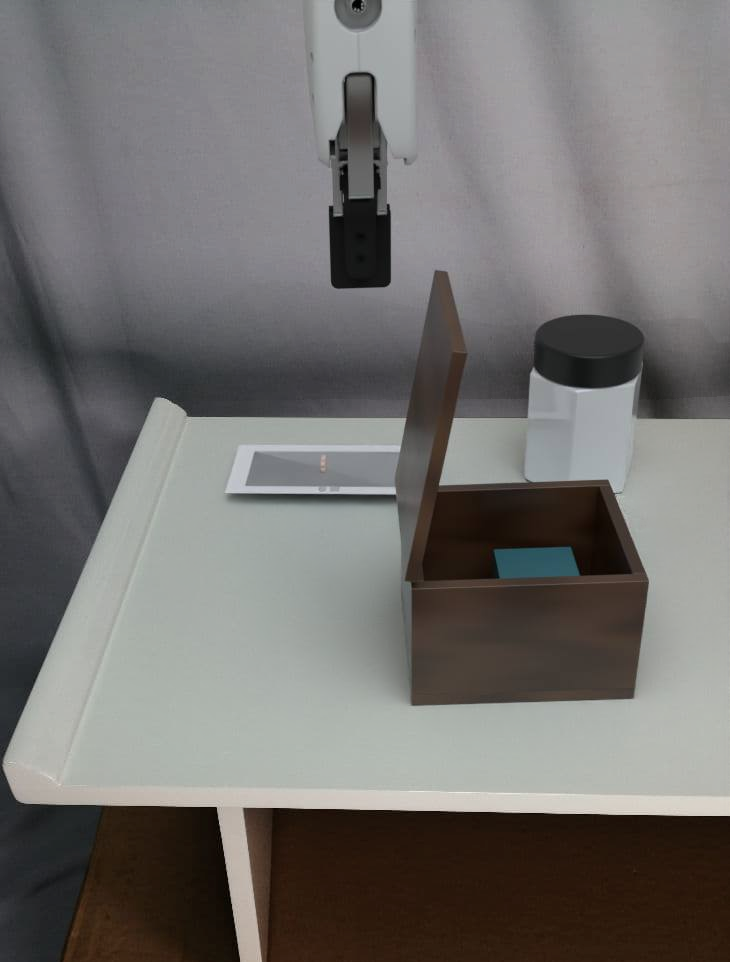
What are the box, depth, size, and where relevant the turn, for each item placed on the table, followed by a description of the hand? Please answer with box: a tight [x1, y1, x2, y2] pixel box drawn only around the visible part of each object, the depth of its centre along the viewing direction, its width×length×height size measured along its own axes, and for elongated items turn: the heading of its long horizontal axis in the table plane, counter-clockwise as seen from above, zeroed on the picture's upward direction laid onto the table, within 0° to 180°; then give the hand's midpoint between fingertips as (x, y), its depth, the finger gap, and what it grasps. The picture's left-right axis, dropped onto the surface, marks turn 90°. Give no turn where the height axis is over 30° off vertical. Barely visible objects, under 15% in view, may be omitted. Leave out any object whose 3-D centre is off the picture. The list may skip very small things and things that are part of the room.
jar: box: [523, 314, 646, 494], centre depth 92 cm, size 9×8×12 cm
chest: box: [400, 479, 650, 706], centre depth 74 cm, size 14×12×9 cm
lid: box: [395, 269, 468, 583], centre depth 68 cm, size 14×12×1 cm
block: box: [492, 547, 580, 579], centre depth 75 cm, size 5×5×5 cm
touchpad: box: [224, 444, 401, 495], centre depth 95 cm, size 8×15×2 cm, turn 85°
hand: (360, 281), depth 63 cm, fingers closed
